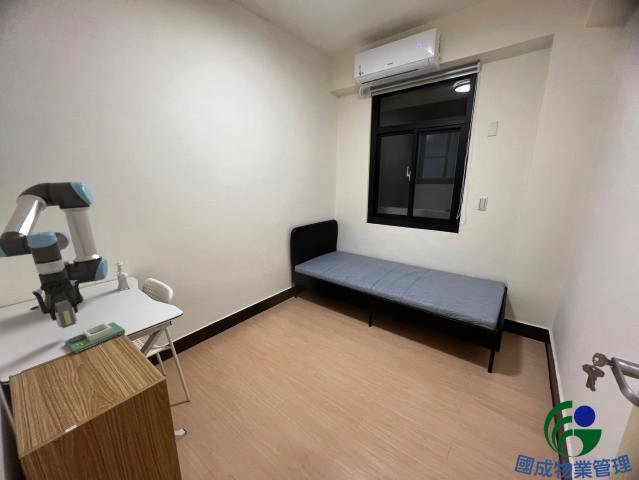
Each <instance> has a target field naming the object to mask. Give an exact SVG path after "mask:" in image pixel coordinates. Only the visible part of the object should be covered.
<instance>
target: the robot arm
mask: <svg viewBox="0 0 639 480" xmlns="http://www.w3.org/2000/svg"><path fill="white" fill-rule="evenodd" d="M93 203H94V199H93V196H92V193H91V190H90V188H88V186H87V184H85V183H83V182H78V181H77V182H76V181H67V182H65V181H64V182H61V181H60V182H42V183H41V182H40V183H37V184H33V185H31V186H29V187H27V188H26V189H25V190H23V191H22V192H20V194H19V195H18V196H17V198H16V205H17V206H16V208H15V209H14V211H13V212H12V214H11V217H10V219H8V222H7V224H6V225H5V227H4V230H3V231H2V233H1V235H0V258H11V257H17V256H25V255H31V256H32V260H33V263H34V265H35V269H36V272H37V273H38V278H39V281H40V287H39V288H38V289H36V290H33V291H31V294H33V296H35V298H36V301H37V304H38V306H39V308H40V310H41V312H42V313H43V315H47V314H49V315H50V318H51V320H52V321H56V323H57V326H58V327H59V328H62V324H61V321H60V318H59V315H58V312H57V311H55V303H58V302H62V301H65V300H68V301H69V302H70V304H71V308H72V311H73V315H74V318H75V321H76V322H78V318H77V315H76V314H77V313H79V310H78V305H79V303H80V304H82V303H83V302H84V296H83V294H82V293H81V292H80V289H79V287H80V286H79V285H80V284H86V283H91V282H92V283H93V282H97V281H103V280H105V279H106V278H107V275H108V272H109V271H108V270H109V269H108V268H109V267H108V266H109V264H108V260H107V259H106V258H103V257H102V255H101V254H99V253H98V251H97V246H96V244H95V239H94V235H93V230H92V226H91V221H90V217H89V213H88V210H90V209H91V205H92V204H93ZM49 207H58V208H59V210H60V211H62V212H64V215H65V219H66V223H67V227H68V230H69V234H70V236H69V235H68V234H67V233H64V232H60V231H55V232H53V231H41V232H34V233H33V231H34V229H35V227H36V224H37V222H38V220H39V217H40V215H41V213H42V212H43V211H45V210H46V209H47V208H49ZM70 238H71V239H70ZM70 243H72V246H73V249H74V253H75V258H74V259H73V260H72V262H73V263H70V261H68V260H63V257H62V253H61V251H62V250H63V249H66V248H67V247H68V245H70ZM43 293H44V298H43V296H42V295H43ZM82 301H83V302H82ZM77 304H78V305H77Z"/></svg>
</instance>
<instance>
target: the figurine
mask: <svg viewBox="0 0 639 480" xmlns="http://www.w3.org/2000/svg"><path fill="white" fill-rule="evenodd" d="M123 264H124V262H121V261H120V260H117V262H116V263H114V265H113V266H114V267H117V270H115V271H114V272H113V274H114V273H117V275H116V276H117V277H116V279H117V282H118V284H117V285H118V286H117V289H126V288H130V287H131V286H132V287H134V284H133V283H132V281H130V278H129V273H127V272H124V271H123ZM132 287H131V288H132ZM131 288H130V289H131ZM126 290H127V289H126Z"/></svg>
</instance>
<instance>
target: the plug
mask: <svg viewBox="0 0 639 480" xmlns="http://www.w3.org/2000/svg"><path fill="white" fill-rule="evenodd" d="M55 311H57V312H58V315H59V318H60V321H61V324H62V327H61V328H62V329H65V328H68V327H71V326H74V325H76V324H77V321H75V318H74V315H73V311H72V308H71V304H70V302H69V301H68V300H65V301H62V302H58V303H55Z"/></svg>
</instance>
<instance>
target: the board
mask: <svg viewBox="0 0 639 480" xmlns="http://www.w3.org/2000/svg"><path fill="white" fill-rule="evenodd" d="M125 333H126V330H125V328H123V327H121V326H120V325H118V324H117V323H115V322H110V323H106V322H102V323H100V324H99V323H98V324H97V325H95V326H92V327H89V328H86V329H84V330H82V333H81V334H78V335H76V336H73V337H71V338H68V339H67V340H65V341H64V344H65V346H66V347H67V348H68V349H69V350H71V352H72V353H73V352H78V351H79V350H82V349H85V348H87V347H89V346H92V345H94V344H97V343H100V342H102V341H104V340H107V339H109V340H111V339H110V338H112V337H114V336H116V337H118V336H117V335H119V336H120V334H121V335H123V334H125ZM114 338H115V337H114ZM112 339H113V338H112ZM107 341H108V340H107ZM102 343H103V342H102ZM100 344H101V343H100Z"/></svg>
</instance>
